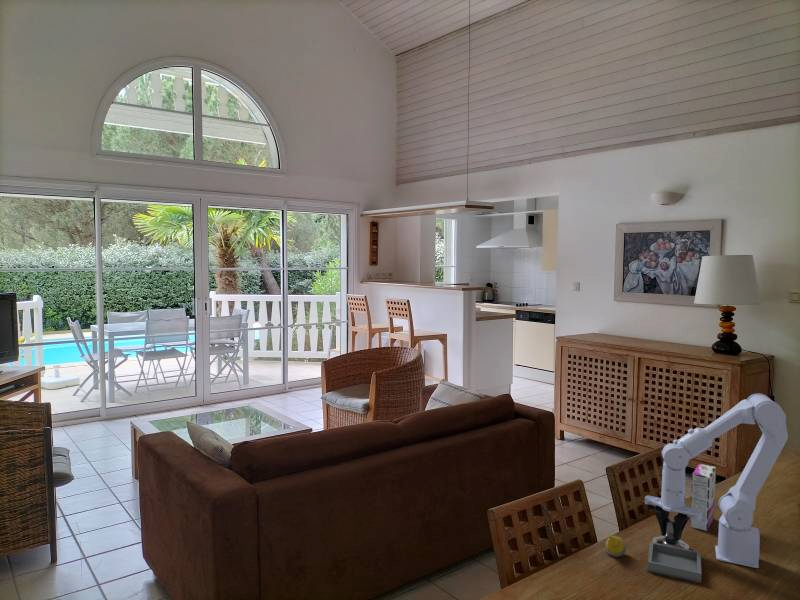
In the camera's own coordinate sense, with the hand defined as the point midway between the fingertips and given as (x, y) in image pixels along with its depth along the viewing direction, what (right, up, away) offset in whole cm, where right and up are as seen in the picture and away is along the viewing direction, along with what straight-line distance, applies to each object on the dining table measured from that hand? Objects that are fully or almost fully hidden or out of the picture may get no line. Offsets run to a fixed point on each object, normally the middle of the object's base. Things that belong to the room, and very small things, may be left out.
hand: (671, 537), depth 157 cm
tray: (-4, -4, -10) cm, 11 cm away
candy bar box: (+17, -3, +16) cm, 23 cm away
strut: (0, -3, 0) cm, 3 cm away
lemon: (-17, -3, -5) cm, 18 cm away
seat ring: (0, -3, 0) cm, 3 cm away
